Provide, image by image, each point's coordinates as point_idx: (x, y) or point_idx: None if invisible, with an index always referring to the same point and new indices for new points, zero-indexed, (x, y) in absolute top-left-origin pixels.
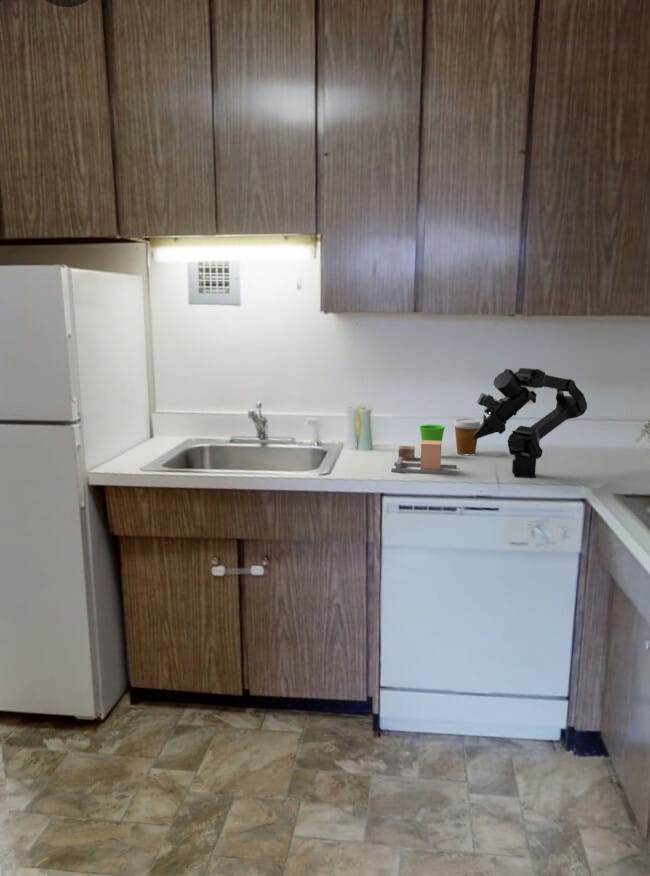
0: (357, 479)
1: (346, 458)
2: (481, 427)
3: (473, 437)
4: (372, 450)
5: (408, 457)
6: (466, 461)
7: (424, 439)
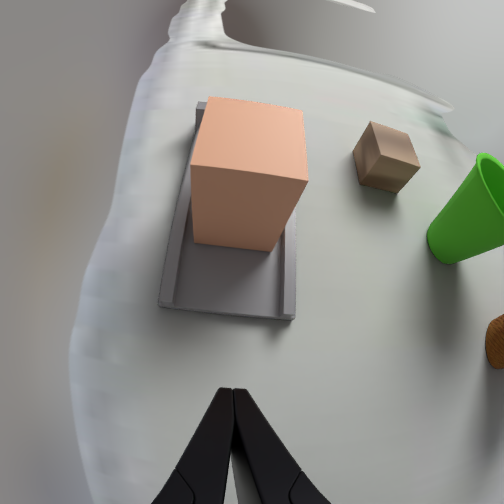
0: (160, 75)
1: (350, 78)
2: (156, 497)
3: (219, 390)
4: (435, 131)
5: (365, 160)
6: (431, 355)
7: (459, 187)
